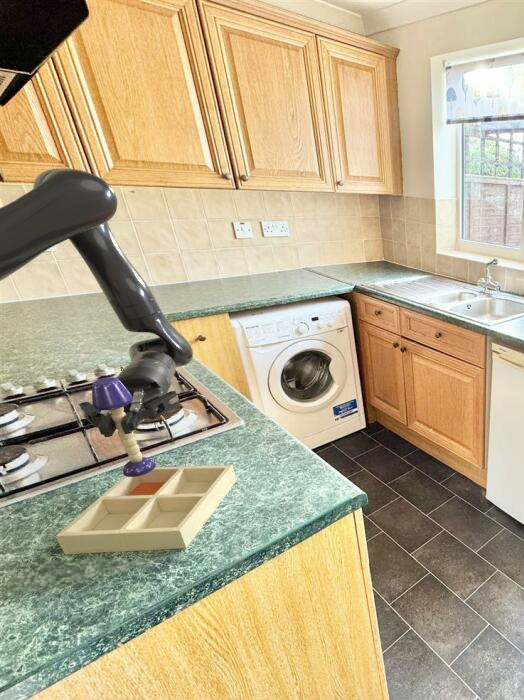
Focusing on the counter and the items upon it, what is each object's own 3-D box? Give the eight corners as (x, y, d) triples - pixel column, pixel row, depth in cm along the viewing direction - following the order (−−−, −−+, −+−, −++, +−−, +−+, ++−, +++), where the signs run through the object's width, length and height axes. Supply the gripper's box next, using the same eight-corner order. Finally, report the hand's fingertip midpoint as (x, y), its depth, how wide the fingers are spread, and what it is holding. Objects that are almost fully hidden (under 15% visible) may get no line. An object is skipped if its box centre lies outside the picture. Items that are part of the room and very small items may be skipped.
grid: (64, 554, 62) (55, 536, 60) (140, 483, 76) (133, 467, 75) (186, 548, 64) (179, 530, 62) (236, 480, 79) (232, 465, 77)
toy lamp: (121, 482, 67) (87, 389, 61) (116, 468, 70) (82, 378, 63) (158, 470, 71) (130, 381, 64) (152, 458, 74) (124, 371, 67)
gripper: (86, 371, 73) (44, 417, 60) (183, 361, 79) (164, 401, 66) (102, 408, 77) (65, 460, 63) (193, 396, 83) (177, 441, 69)
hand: (116, 430), depth 64 cm, fingers closed on toy lamp
